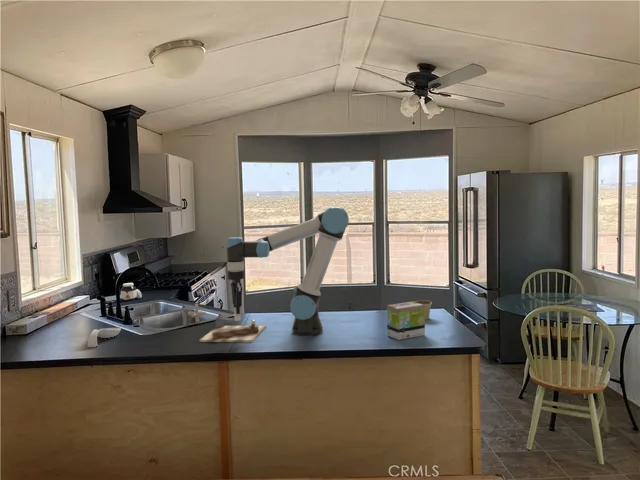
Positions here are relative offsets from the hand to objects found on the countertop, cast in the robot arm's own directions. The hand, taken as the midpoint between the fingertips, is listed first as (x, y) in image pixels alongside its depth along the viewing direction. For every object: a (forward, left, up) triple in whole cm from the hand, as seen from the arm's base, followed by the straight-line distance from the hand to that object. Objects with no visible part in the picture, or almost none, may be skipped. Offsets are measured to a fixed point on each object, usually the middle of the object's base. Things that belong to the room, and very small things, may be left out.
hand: (237, 320), depth 223 cm
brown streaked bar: (+3, -7, -9) cm, 11 cm away
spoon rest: (+70, -1, -11) cm, 70 cm away
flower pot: (-88, -42, -10) cm, 98 cm away
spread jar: (+111, -98, -10) cm, 149 cm away
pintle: (-4, -11, -6) cm, 13 cm away
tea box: (-78, -10, -10) cm, 79 cm away
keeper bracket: (+14, -20, -9) cm, 26 cm away
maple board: (+6, -11, -10) cm, 16 cm away
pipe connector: (+35, -34, -10) cm, 50 cm away
